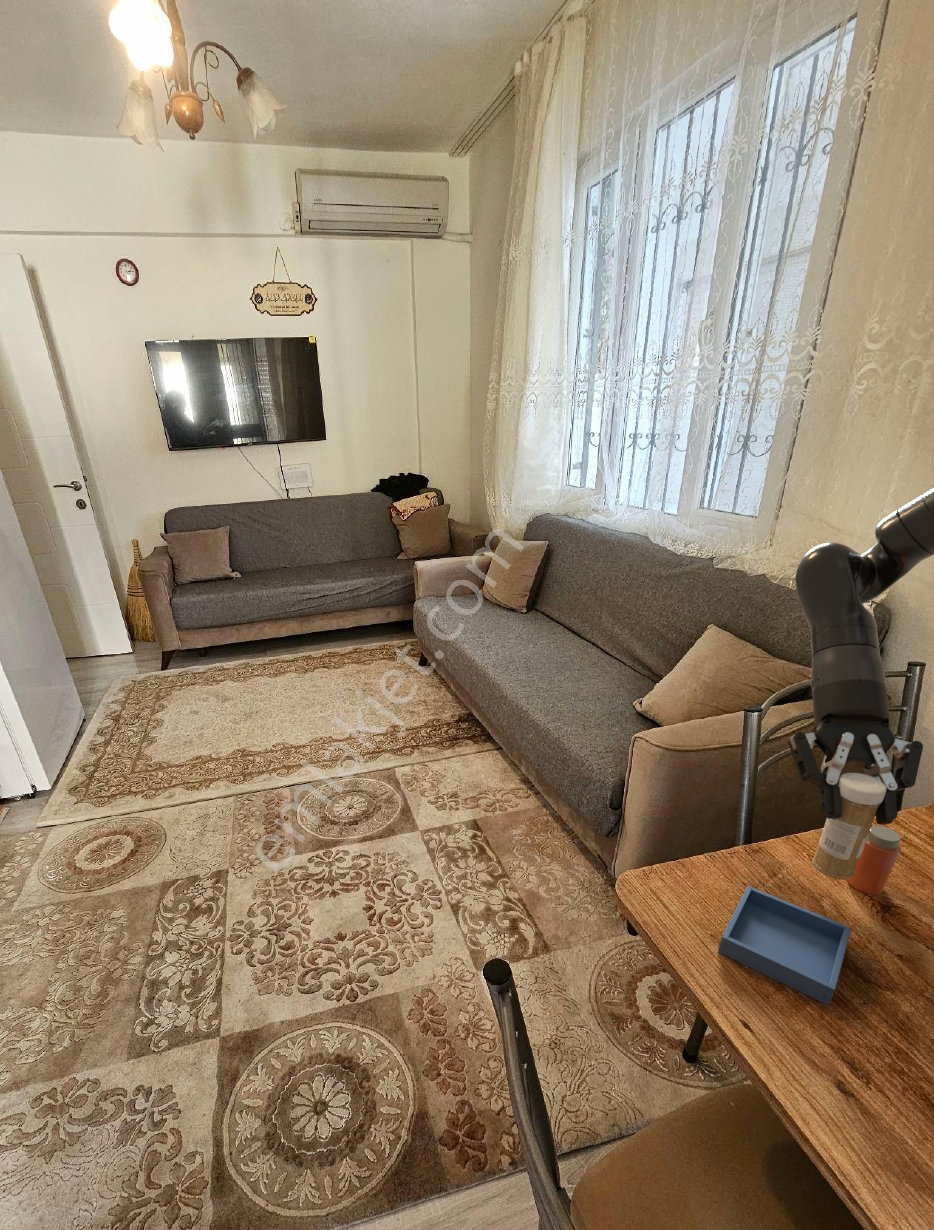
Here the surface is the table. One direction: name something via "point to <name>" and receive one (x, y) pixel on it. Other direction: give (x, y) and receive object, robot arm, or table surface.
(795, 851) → the table surface
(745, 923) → the blue tray
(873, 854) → the terracotta shaker
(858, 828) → the sprinkles bottle
